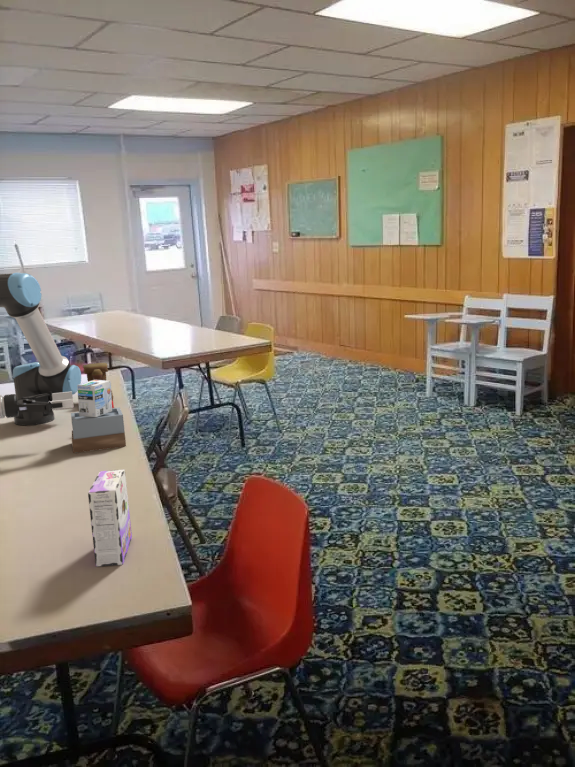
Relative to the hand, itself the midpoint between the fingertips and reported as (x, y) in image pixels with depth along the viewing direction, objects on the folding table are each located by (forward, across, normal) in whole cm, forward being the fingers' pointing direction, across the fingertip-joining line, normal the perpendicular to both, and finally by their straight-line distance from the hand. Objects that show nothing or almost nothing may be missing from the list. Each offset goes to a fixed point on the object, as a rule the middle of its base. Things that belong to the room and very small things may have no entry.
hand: (72, 399), depth 230 cm
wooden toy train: (+11, -70, -17) cm, 73 cm away
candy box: (+5, +92, -17) cm, 93 cm away
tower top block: (+7, 0, -12) cm, 14 cm away
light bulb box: (+7, 0, -6) cm, 9 cm away
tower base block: (+7, 0, -17) cm, 18 cm away
